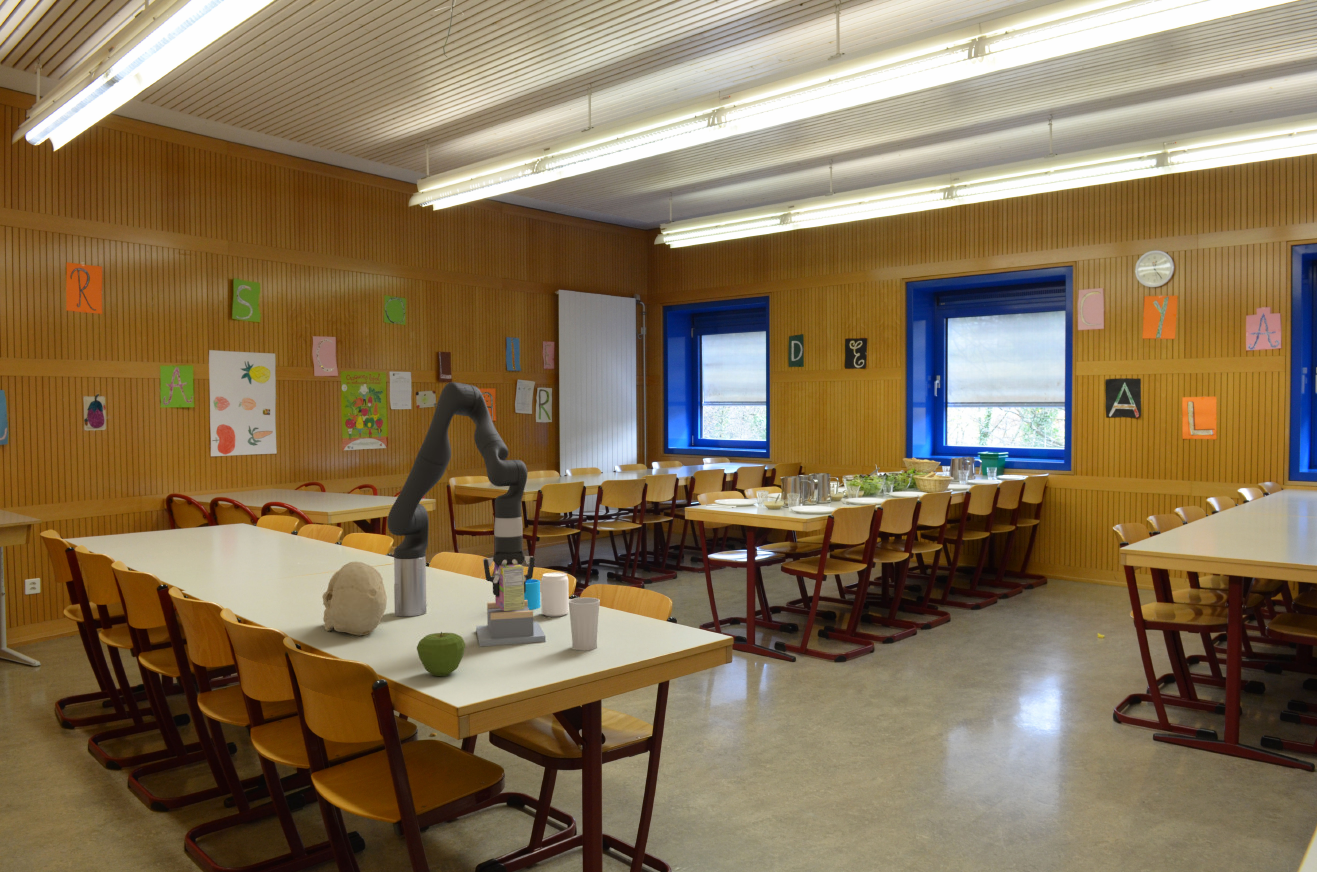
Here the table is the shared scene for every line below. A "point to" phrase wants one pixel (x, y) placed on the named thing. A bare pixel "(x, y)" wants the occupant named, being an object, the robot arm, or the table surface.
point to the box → (510, 587)
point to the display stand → (509, 627)
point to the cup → (584, 622)
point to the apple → (441, 652)
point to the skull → (354, 599)
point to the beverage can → (554, 594)
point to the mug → (532, 593)
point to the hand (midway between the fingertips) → (509, 595)
